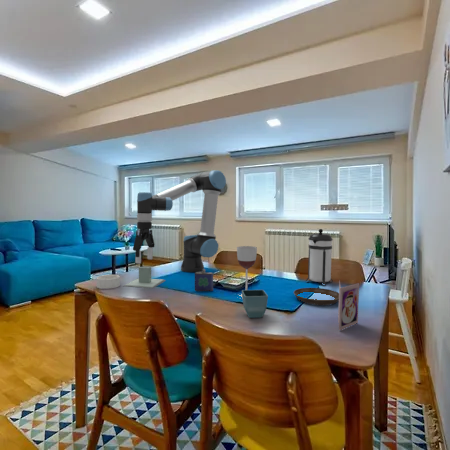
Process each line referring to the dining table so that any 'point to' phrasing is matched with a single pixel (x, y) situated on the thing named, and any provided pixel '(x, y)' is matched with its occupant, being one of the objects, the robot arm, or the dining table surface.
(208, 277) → the flask
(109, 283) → the bowl
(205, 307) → the dining table surface
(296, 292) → the plant saucer
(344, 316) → the greeting card
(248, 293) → the flower pot
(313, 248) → the coffee press
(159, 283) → the mat
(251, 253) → the wineglass
